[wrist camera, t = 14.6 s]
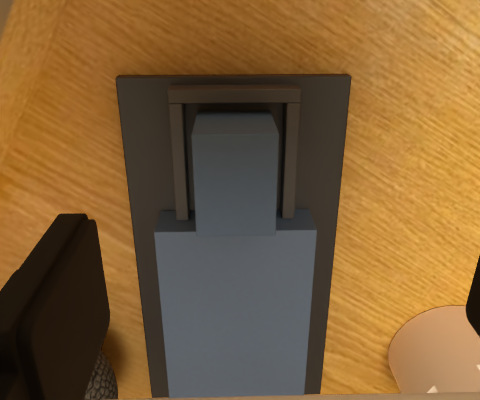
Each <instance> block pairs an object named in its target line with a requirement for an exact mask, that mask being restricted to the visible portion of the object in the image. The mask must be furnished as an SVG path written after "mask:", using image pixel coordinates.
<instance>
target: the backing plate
mask: <svg viewBox="0 0 480 400" xmlns="http://www.w3.org/2000/svg"><path fill="white" fill-rule="evenodd" d="M350 85H351V76H350V75H349V74H256V75H119V76H117V77H116V87H117V95H118V104H119V113H120V122H121V130H122V139H123V148H124V157H125V165H126V174H127V183H128V191H129V200H130V209H131V218H132V226H133V235H134V244H135V253H136V261H137V270H138V279H139V288H140V296H141V305H142V314H143V322H144V331H145V340H146V349H147V357H148V366H149V375H150V384H151V392H152V398H161V397H169V398H193V397H234V396H283V395H304V394H320V390H321V379H322V369H323V359H324V349H325V339H326V329H327V319H328V308H329V298H330V288H331V278H332V268H333V258H334V247H335V237H336V227H337V217H338V207H339V197H340V187H341V176H342V166H343V156H344V146H345V136H346V126H347V116H348V105H349V95H350ZM198 111H271V114H272V116H273V119H274V122H275V125H276V127H277V130H278V133H279V152H278V181H277V209H276V234H275V235H274V236H206V237H197V236H196V222H195V201H194V180H193V160H192V139H191V135H192V131H193V127H194V123H195V119H196V115H197V112H198Z"/></svg>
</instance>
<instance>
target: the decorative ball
mask: <svg viewBox="0 0 480 400" xmlns="http://www.w3.org/2000/svg"><path fill="white" fill-rule="evenodd" d="M110 399H118V389H117V382H116V377H115V374H114V371H113V368H112V366H111V364H110V362H109V361H108V359H107V357H106V356H105V355H104V353H103V352H102V351H101V350H100V353H99V356H98V359H97V362H96V365H95V367H94V370H93V373H92V376H91V379H90V382H89V385H88V388H87V391H86V393H85V396H84V399H83V400H110Z"/></svg>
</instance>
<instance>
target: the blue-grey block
mask: <svg viewBox="0 0 480 400" xmlns="http://www.w3.org/2000/svg"><path fill="white" fill-rule="evenodd" d="M191 139H192V160H193V180H194V201H195V222H196V236H197V237H206V236H274V235H275V234H276V209H277V181H278V152H279V133H278V130H277V127H276V125H275V122H274V119H273V116H272V114H271V111H198V112H197V115H196V119H195V123H194V127H193V131H192V135H191Z"/></svg>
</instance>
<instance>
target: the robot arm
mask: <svg viewBox="0 0 480 400" xmlns="http://www.w3.org/2000/svg"><path fill="white" fill-rule="evenodd" d="M466 317H467V319H468V321H469V323H470V324H471V326H472V327H473V329H474V330H475V331H476V333H477V334H478V336H479V337H480V256H479V260H478V263H477V267H476V271H475V274H474V278H473V282H472V285H471V289H470V293H469V296H468V300H467V304H466ZM109 321H110V310H109V303H108V297H107V290H106V284H105V277H104V271H103V264H102V257H101V251H100V244H99V238H98V231H97V225H96V222H95V220H94V219H90V220H88V217H87V215H86V214H59V215H58V216H57V217H56V219H55V220H54V222H53V223H52V224H51V226H50V227H49V228H48V230H47V231H46V233H45V234H44V235H43V237H42V238H41V239H40V241H39V242H38V243H37V245H36V246H35V248H34V249H33V250H32V252H31V253H30V254H29V256H28V257H27V259H26V260H25V261H24V263H23V264H22V265H21V267H20V268H19V270H17V271H15V272H14V273H13V275H12V276H11V277H10V279H9V280H8V281H7V283H6V284H5V285H4V287H3V288H2V289H1V291H0V400H83V399H84V396H85V393H86V391H87V388H88V385H89V382H90V379H91V376H92V373H93V370H94V367H95V365H96V362H97V359H98V356H99V353H100V350H101V347H102V344H103V341H104V338H105V336H106V333H107V330H108V327H109ZM110 400H480V392H445V393H393V394H338V395H283V396H234V397H193V398H151V399H110Z"/></svg>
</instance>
